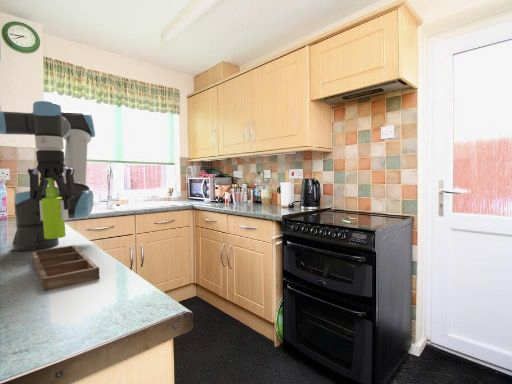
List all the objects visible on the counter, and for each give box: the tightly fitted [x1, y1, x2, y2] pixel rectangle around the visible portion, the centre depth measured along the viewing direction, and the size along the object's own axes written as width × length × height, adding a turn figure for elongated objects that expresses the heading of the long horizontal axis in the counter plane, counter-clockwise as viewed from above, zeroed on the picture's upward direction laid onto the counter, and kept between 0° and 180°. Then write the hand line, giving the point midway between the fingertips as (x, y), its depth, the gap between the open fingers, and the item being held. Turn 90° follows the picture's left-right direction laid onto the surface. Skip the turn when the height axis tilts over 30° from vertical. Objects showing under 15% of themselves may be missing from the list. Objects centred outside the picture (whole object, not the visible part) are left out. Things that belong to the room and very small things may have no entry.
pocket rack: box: [31, 244, 101, 292], centre depth 89 cm, size 36×12×3 cm, turn 41°
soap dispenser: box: [42, 178, 66, 239], centre depth 97 cm, size 6×7×20 cm
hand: (54, 219), depth 97 cm, fingers closed on soap dispenser, 6 cm apart
